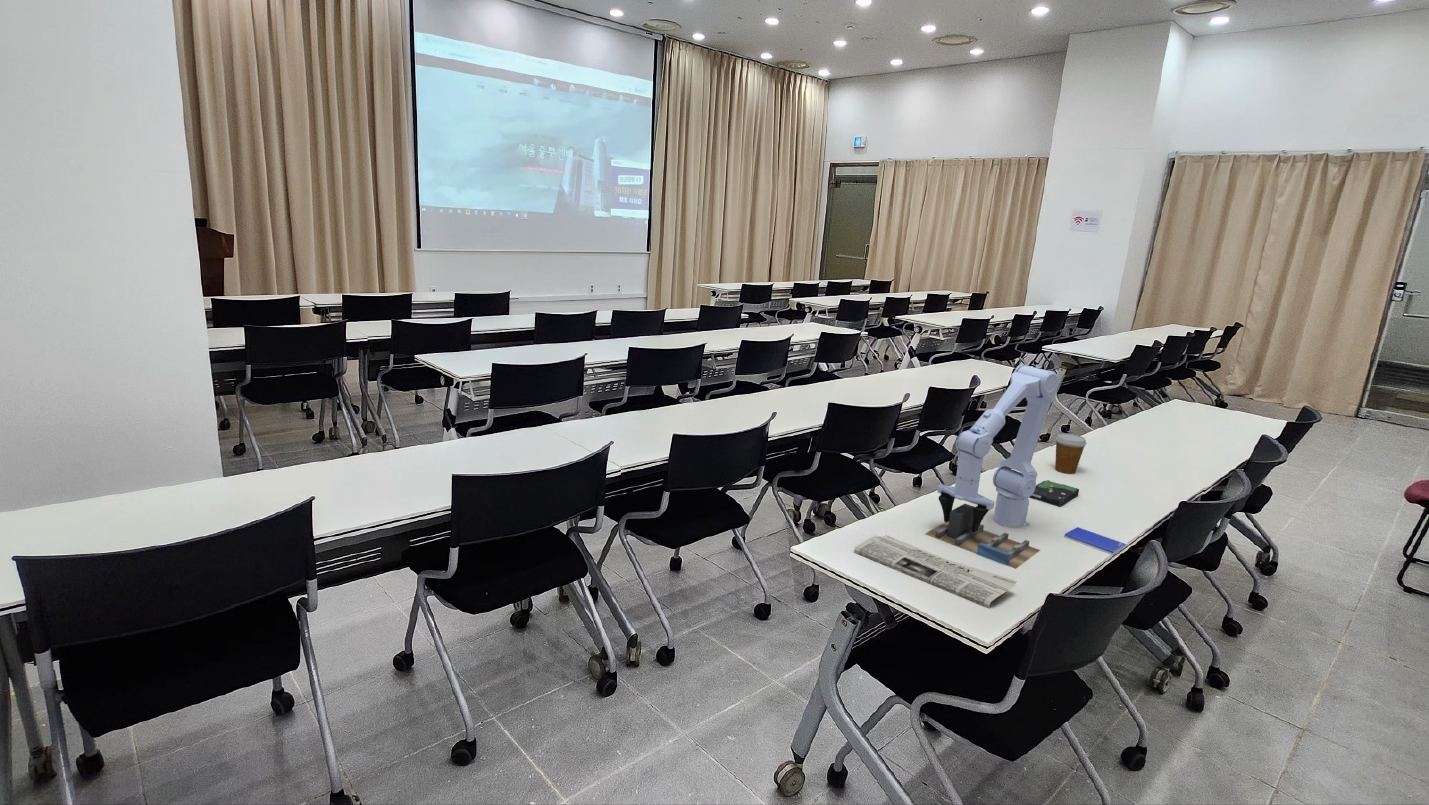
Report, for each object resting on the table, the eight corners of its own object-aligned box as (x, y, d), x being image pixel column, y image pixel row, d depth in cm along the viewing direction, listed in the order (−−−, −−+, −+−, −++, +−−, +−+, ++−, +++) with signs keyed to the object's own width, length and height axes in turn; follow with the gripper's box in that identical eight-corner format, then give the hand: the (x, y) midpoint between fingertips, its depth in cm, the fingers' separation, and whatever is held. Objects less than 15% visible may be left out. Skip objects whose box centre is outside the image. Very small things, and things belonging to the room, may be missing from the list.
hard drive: (1126, 543, 183) (1078, 526, 192) (1113, 551, 178) (1064, 533, 187) (1125, 548, 183) (1077, 531, 192) (1112, 557, 178) (1063, 539, 187)
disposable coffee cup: (1057, 464, 246) (1063, 431, 243) (1085, 472, 239) (1092, 438, 235) (1044, 469, 240) (1050, 435, 237) (1072, 477, 233) (1079, 443, 230)
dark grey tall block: (961, 527, 188) (964, 503, 186) (971, 531, 186) (975, 507, 184) (946, 536, 182) (950, 511, 180) (957, 540, 180) (961, 514, 178)
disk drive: (1060, 509, 207) (1078, 496, 217) (1062, 500, 207) (1079, 488, 217) (1025, 498, 214) (1044, 486, 224) (1026, 490, 214) (1045, 478, 224)
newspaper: (853, 554, 172) (855, 541, 172) (880, 539, 181) (881, 526, 180) (994, 613, 149) (997, 598, 148) (1017, 592, 158) (1019, 578, 157)
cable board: (951, 521, 193) (953, 510, 192) (1039, 553, 177) (1042, 541, 176) (923, 536, 183) (925, 525, 182) (1015, 571, 167) (1017, 559, 166)
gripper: (934, 472, 182) (927, 520, 185) (988, 489, 172) (980, 540, 176) (947, 466, 187) (940, 514, 190) (1000, 482, 177) (992, 532, 180)
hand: (960, 526), depth 183 cm, fingers open, 7 cm apart
